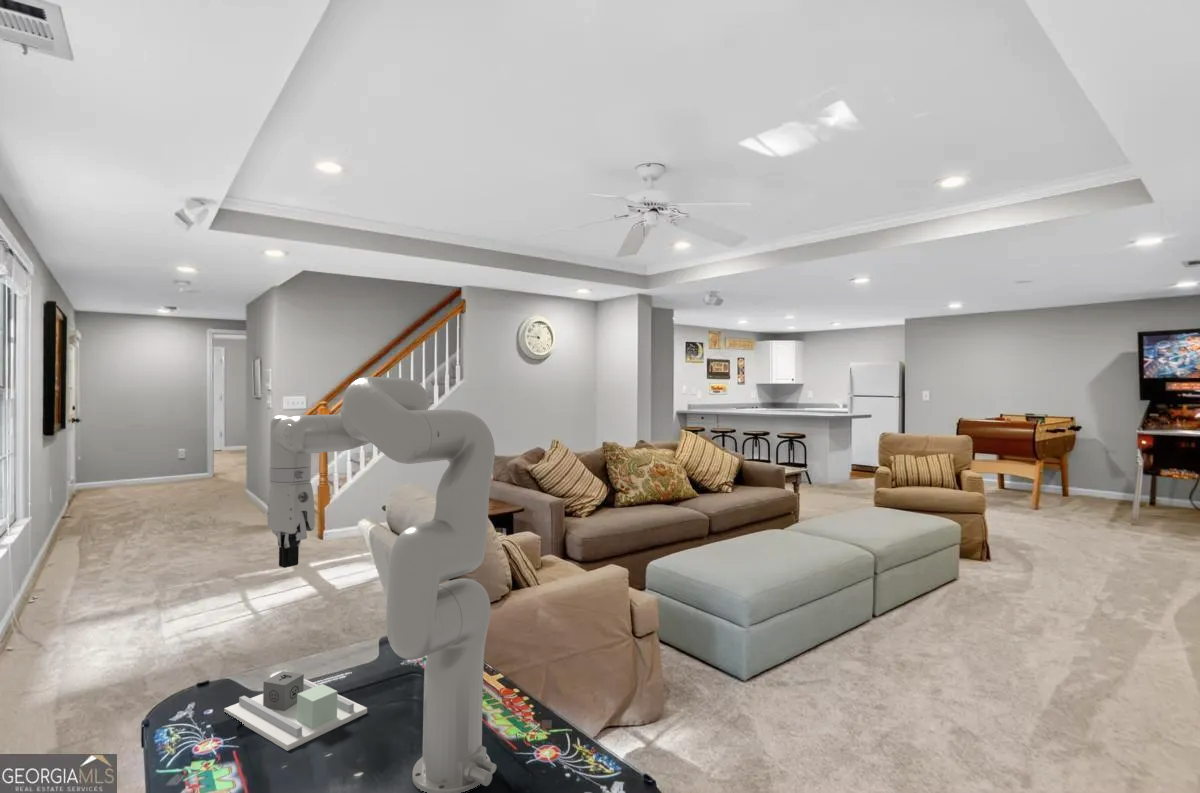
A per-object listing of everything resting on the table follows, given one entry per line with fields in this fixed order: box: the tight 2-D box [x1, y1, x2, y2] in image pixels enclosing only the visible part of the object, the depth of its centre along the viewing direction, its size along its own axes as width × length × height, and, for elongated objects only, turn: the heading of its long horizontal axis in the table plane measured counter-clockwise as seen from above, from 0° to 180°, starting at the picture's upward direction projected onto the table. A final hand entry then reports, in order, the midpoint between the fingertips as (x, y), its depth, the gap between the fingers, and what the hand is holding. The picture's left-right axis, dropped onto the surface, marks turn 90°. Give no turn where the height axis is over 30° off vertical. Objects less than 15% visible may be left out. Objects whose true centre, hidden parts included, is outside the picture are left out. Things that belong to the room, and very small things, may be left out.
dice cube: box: [262, 670, 305, 711], centre depth 123 cm, size 5×5×5 cm
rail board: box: [223, 678, 368, 752], centre depth 121 cm, size 22×16×6 cm
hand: (288, 565), depth 127 cm, fingers closed
